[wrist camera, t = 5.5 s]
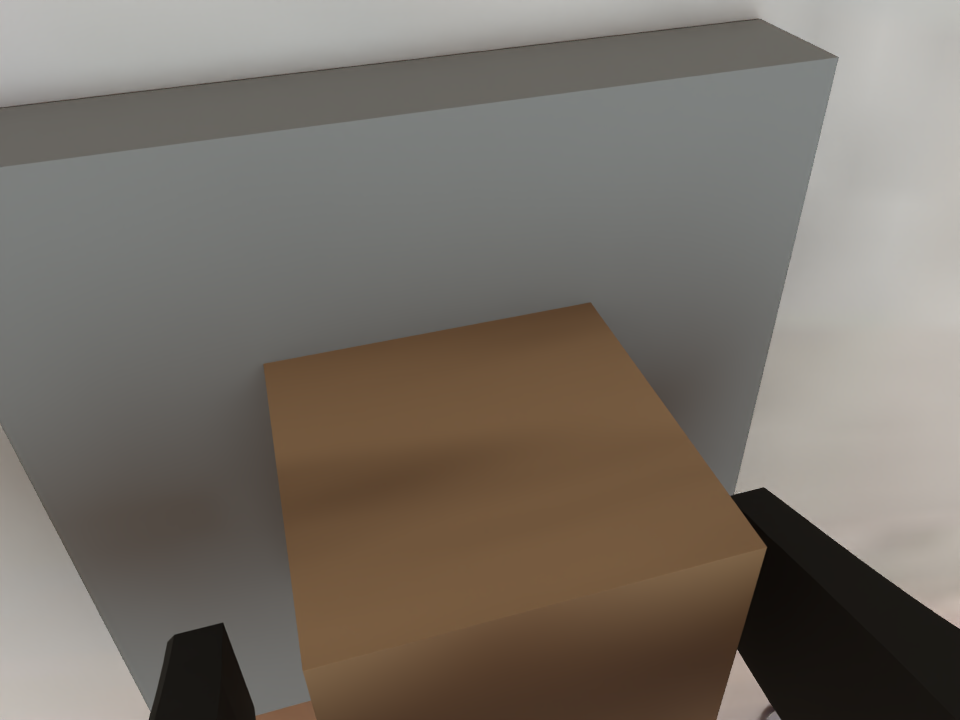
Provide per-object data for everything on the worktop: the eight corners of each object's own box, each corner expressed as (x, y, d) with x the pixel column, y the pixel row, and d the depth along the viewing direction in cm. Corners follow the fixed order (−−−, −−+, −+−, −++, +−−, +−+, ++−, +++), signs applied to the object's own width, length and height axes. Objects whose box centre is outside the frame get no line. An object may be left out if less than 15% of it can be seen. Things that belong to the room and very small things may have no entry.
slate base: (670, 526, 20) (710, 590, 19) (167, 653, 18) (165, 740, 16) (760, 18, 13) (838, 56, 11) (-80, 117, 10) (-124, 183, 9)
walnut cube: (575, 518, 16) (701, 769, 12) (314, 582, 15) (362, 879, 11) (590, 302, 13) (767, 547, 9) (262, 363, 12) (303, 670, 8)
